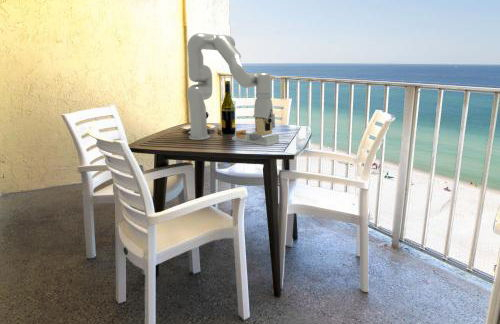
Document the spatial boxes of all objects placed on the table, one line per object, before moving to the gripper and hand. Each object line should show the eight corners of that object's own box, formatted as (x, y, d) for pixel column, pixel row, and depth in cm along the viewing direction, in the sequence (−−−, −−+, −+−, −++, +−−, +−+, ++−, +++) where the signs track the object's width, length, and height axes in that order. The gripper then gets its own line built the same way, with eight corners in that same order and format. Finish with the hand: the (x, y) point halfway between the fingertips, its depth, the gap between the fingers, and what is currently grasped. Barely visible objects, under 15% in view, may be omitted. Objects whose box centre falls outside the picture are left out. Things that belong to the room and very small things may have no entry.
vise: (232, 139, 219) (231, 132, 218) (244, 137, 226) (244, 129, 225) (267, 145, 201) (267, 137, 200) (279, 142, 208) (278, 134, 207)
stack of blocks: (266, 127, 260) (266, 109, 257) (274, 127, 258) (274, 109, 255) (255, 132, 241) (254, 113, 238) (264, 132, 239) (264, 113, 236)
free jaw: (233, 136, 218) (233, 131, 217) (245, 134, 224) (245, 129, 224) (250, 139, 209) (250, 134, 208) (262, 136, 216) (262, 131, 215)
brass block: (256, 134, 207) (256, 118, 204) (265, 132, 212) (264, 116, 209) (263, 135, 203) (263, 119, 201) (271, 133, 208) (271, 117, 206)
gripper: (247, 96, 205) (248, 129, 210) (271, 97, 194) (271, 132, 198) (256, 95, 211) (257, 127, 215) (280, 96, 199) (280, 130, 204)
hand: (264, 129), depth 207 cm, fingers closed on brass block, 5 cm apart
